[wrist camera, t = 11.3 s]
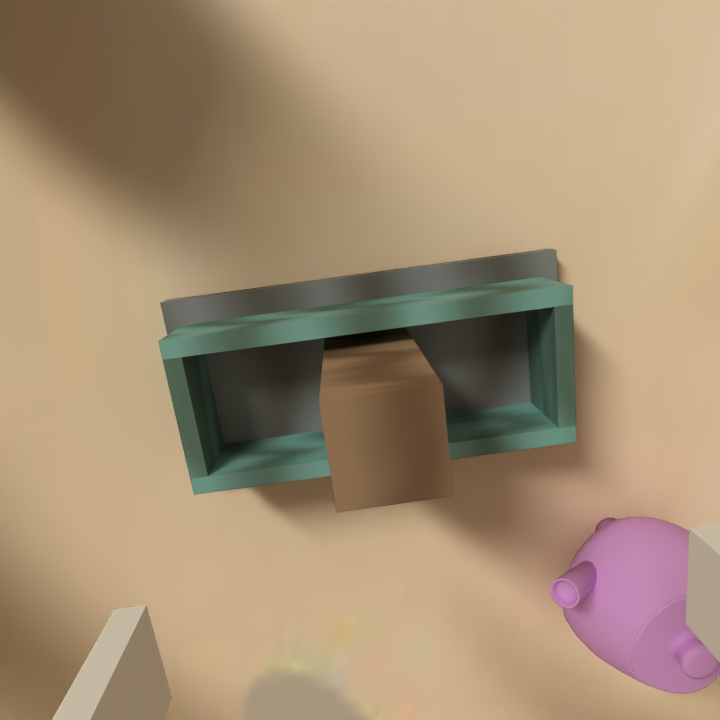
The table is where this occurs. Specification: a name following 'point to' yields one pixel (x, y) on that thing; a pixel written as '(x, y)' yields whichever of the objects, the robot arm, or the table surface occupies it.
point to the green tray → (358, 315)
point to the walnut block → (383, 421)
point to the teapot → (637, 603)
